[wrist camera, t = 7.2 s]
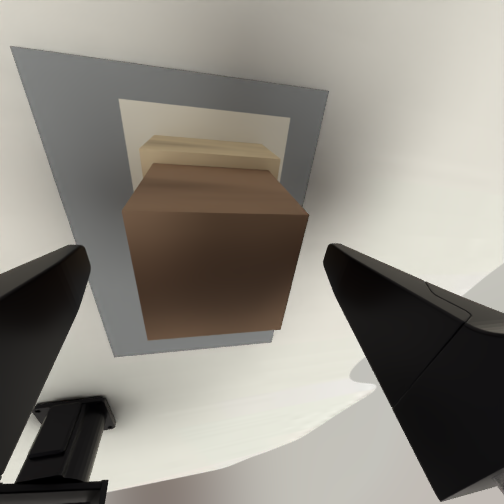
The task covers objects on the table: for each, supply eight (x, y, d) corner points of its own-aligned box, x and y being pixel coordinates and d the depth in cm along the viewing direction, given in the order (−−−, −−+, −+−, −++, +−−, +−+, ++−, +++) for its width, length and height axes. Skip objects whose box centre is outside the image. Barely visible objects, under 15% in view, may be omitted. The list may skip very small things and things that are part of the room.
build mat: (270, 339, 25) (271, 342, 25) (115, 353, 22) (114, 357, 22) (325, 91, 14) (329, 91, 13) (15, 47, 11) (8, 45, 10)
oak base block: (251, 233, 17) (263, 265, 14) (164, 232, 16) (155, 268, 13) (261, 143, 14) (280, 159, 11) (154, 134, 13) (138, 148, 10)
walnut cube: (256, 259, 14) (280, 329, 10) (164, 260, 13) (147, 340, 9) (268, 170, 11) (308, 214, 7) (153, 163, 10) (121, 210, 6)
